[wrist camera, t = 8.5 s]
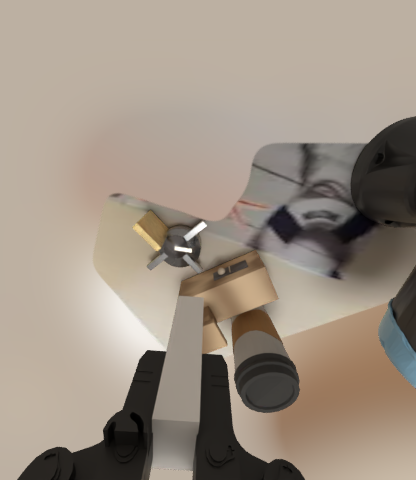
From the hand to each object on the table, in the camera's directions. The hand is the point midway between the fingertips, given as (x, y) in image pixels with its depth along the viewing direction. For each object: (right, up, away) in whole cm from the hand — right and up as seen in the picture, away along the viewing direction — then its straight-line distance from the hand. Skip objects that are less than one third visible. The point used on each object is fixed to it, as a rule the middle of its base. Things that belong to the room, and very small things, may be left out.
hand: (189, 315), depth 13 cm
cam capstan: (-4, +4, +22) cm, 23 cm away
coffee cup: (+9, -9, +28) cm, 31 cm away
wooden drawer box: (+4, -2, +25) cm, 26 cm away
